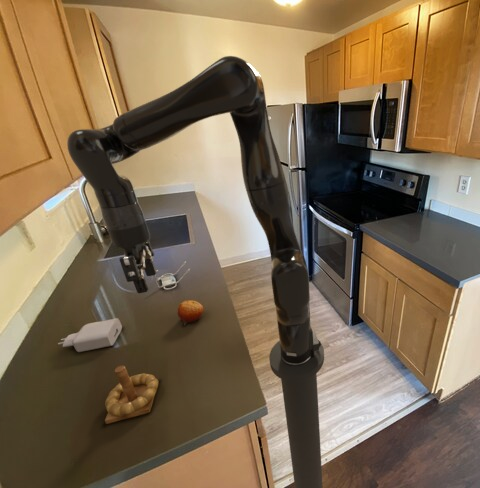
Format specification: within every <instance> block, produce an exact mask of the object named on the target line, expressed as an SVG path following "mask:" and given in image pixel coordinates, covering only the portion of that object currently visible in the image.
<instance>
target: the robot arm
mask: <svg viewBox="0 0 480 488" xmlns="http://www.w3.org/2000/svg"><path fill="white" fill-rule="evenodd" d="M228 113H229V115H230V117H231V121H232V122H233V123H232V124H233V126H234V128H235V131H236V134H237V138H238V143H239V148H240V163H241V172H242V180H243V184H244V189H245V191H246V195H247V198H248V201H249V203H250V207H251V209H252V211H253V214H254V216H255V218H256V219H257V222H258V223H259V225H260V227H261V228H262V230H263V232H264V234H265V237H266V240H267V244H268V248H269V254H270V259H271V261H270V262H271V268H270V269H271V271H270V272H271V274H270V278H271V287H272V295H273V303H274V307H275V314H276V321H277V330H278V331H277V332H278V338H279V341H280V347H281V358H282V360H283V361H284V362H285V363H286V364H288V365H291V366H299V365H302V364H305V363H306V362H308V361H309V360H310V358H313V357H314V351H317V350H320V346H321V344H322V342H321V341H320V340H319V339H318V336H317V334H316V331H314V330H313V329H312V325H311V311H310V301H311V295H310V294H311V293H310V277H309V276H310V275H309V270H308V265H307V261H306V259H305V255H304V253H303V250H302V249H301V245H300V244H299V240H298V237H297V235H296V231H295V225H294V218H293V209H292V208H293V207H292V202H291V201H292V200H291V197H290V192H289V187H288V184H287V180H286V179H287V178H286V176H285V173H284V169H283V166H282V163H281V160H280V159H281V158H280V155H279V153H278V152H279V151H278V149H277V147H276V144H275V142H274V138H273V135H272V130H271V125H270V119H269V113H268V107H267V100H266V93H265V85H264V82H263V79H262V77H261V75H260V74H259V72H258V70H257V69H256V68H255V67H254V66H252V65H251V64H250V63H249V62H248V61H246V60H245V59H243V58H241V57H238V56H235V55H225V56H223V57H221V58H219V59H217V60H216V61H214V62H213V63H212V64H210V65H209V66H208V67H206V68H205V69H204V70H203V71H201V72H199V73H198V74H197V75H196V76H194V77H193V78H191V79H190V80H188V81H187V82H185V83H184V84H182V85H180V86H179V87H177V88H175V89H173V90H171V91H169V92H168V93H166V94H163V95H161V96H160V97H157V98H155V99H153V100H149V101H148V102H146V103H143V104H141V105H138V106H136V107H135V108H132V109H129V110H128V111H125V112H123V113H121V114H120V115H118V116H116V117H115V118H114V120H113V121H112V122H113V123H112V124H110V125H107V126H105V127H101V128H82V129H76V130H74V131H72V132H71V133H70V134H69V135H68V138H67V142H66V145H67V151H68V155H69V157H70V159H71V161H72V162H73V163H74V165H75V166H76V168H77V169H78V171H79V173H81V174H82V176H83V178H84V179H85V180H86V181H87V183H88V184H89V185H90V186H91V188H92V189H93V192H94V195H95V197H96V200H97V203H98V205H99V208H100V213H101V216H102V219H103V222H104V224H105V227H106V230H107V232H108V235H109V238H110V240H111V242H112V244H113V246H114V247H116V248H121V249H123V250H124V251H123V252H124V253H123V254H124V256H120V257H119V262H120V266H121V268H122V271H123V274H124V277H125V279H126V282H127V283H130V282H133V285H134V287H135V290H136V293H137V294H144V293H147V292H148V291H149V287H148V284H147V281H146V278H145V275H146V276H147V277H153V276H154V275H155V274H156V275H157V272H156V270H157V269H156V268H155V265H154V257H155V252H154V250H153V247H152V244H151V242H150V239H151V233H150V229H149V226H148V224H147V221H146V217H145V214H144V212H143V209H142V207H141V205H140V203H139V200H138V197H137V193H136V191H135V189H134V186H133V182H132V181H131V179H130V178H129V177H128V176H126V175H120V174H118V172H117V170H116V169H115V167H114V165H113V164H117V163H118V164H119V163H120V162H123V161H125V160H127V159H129V158H131V157H133V156H134V155H136V154H138V153H140V152H141V151H143V150H147V149H149V148H151V147H154V146H156V145H158V144H160V143H163V142H165V141H167V140H169V139H171V138H173V137H175V136H176V135H178V134H180V133H181V132H182V131H184V130H186V129H187V128H189V127H191V126H192V125H194V124H196V123H199V122H201V121H203V120H206V119H208V118H212V117H216V116H221V115H225V114H228ZM144 272H145V273H144Z"/></svg>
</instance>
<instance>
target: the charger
mask: <svg viewBox="0 0 480 488" xmlns="http://www.w3.org/2000/svg"><path fill="white" fill-rule="evenodd" d="M122 329H123V326H122V323H121V320H120V319H119V317H118V318H111V319H106V320H100V321H95V322H90V323H89V322H88V323H86V324H85V325H83V326H81V328H80V329H79V331H78V332H76V333H71V334H68V335H67V336H66V337H65V338H61V339H60V341H61V342H58V343H57V345H62V348H68V347H74V350H75V351H76V352H78V353H82V352H87V351H91V350H92V351H93V350H97V349H102V348H107V347H111V346H114V345H115V343H116V341H117V339H118V337H119V336H120V334H121V332H122Z"/></svg>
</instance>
